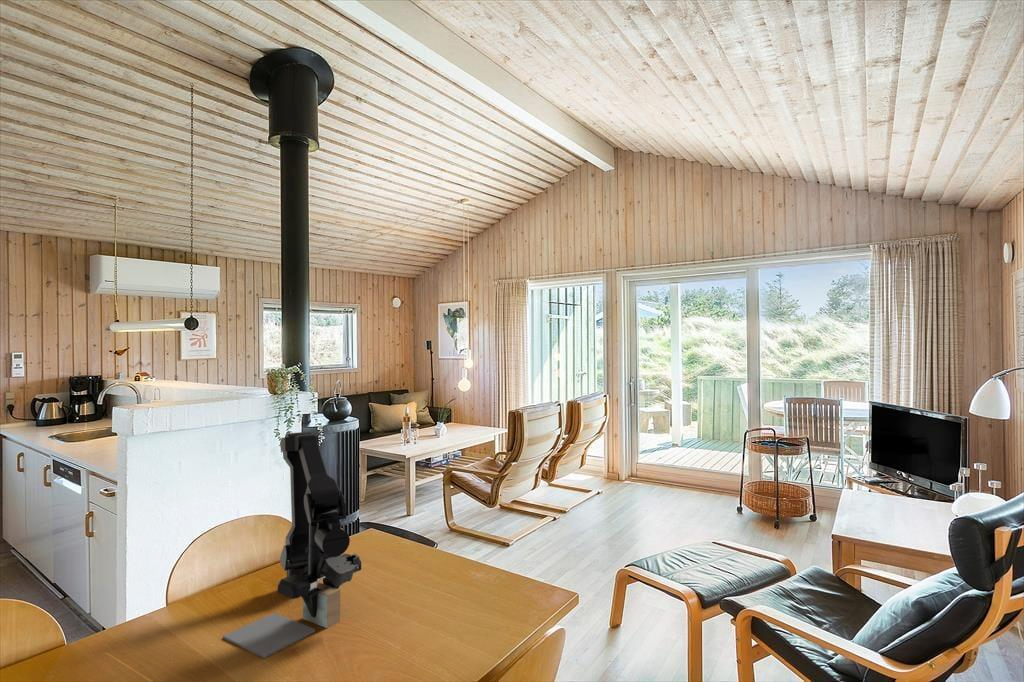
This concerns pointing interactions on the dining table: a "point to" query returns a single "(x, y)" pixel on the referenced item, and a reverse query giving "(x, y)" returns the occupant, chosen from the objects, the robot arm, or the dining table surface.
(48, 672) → the dining table surface
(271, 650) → the rubber mat
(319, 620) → the light brown wooden block
